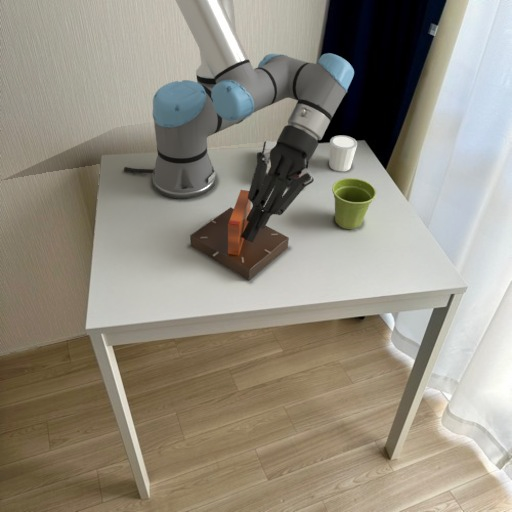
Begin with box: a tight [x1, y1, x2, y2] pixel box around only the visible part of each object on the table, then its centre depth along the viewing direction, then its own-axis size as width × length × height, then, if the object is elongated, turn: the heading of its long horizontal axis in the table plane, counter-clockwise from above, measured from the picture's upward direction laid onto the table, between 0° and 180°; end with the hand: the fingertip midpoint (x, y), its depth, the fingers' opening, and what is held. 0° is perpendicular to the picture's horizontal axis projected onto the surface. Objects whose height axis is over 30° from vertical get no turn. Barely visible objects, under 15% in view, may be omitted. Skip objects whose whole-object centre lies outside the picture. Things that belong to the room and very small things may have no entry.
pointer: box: [228, 189, 252, 256], centre depth 106 cm, size 12×2×8 cm, turn 170°
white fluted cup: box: [328, 135, 358, 172], centre depth 134 cm, size 7×7×7 cm
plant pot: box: [331, 177, 377, 230], centre depth 116 cm, size 9×9×9 cm
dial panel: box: [189, 206, 290, 281], centre depth 110 cm, size 16×16×3 cm
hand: (246, 239), depth 103 cm, fingers closed
